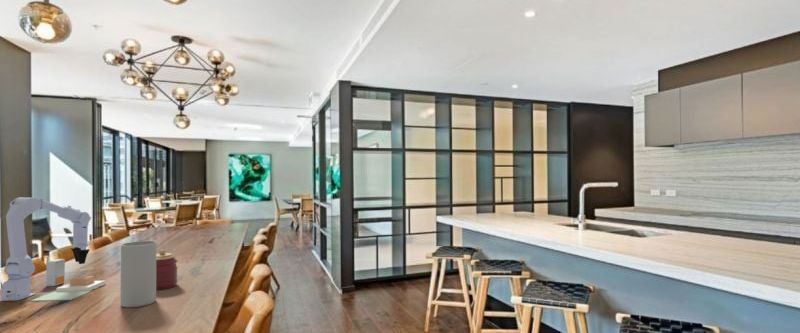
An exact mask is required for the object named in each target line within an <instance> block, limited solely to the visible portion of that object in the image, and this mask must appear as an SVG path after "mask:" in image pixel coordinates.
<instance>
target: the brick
mask: <svg viewBox="0 0 800 333" xmlns="http://www.w3.org/2000/svg"><path fill="white" fill-rule="evenodd" d="M94 281H95V275H79V276H76V277H73V278H70V279H69V283H70V286H82V285H88V284H91V283H93V282H94Z"/></svg>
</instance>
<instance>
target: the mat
mask: <svg viewBox="0 0 800 333" xmlns="http://www.w3.org/2000/svg"><path fill="white" fill-rule="evenodd" d="M91 292H92V290H91V291H62V292H56V291H53V292H52V291H51V292H49V293H47V294H44V295H42V296H41V295H40V297H37V298H34V299H31V300H30V302H48V301H49V302H53V301H56V302H57V301H72V300H74V299H77V298H79V297H81V296H84V295H87V294H88V293H91Z"/></svg>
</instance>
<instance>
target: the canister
mask: <svg viewBox="0 0 800 333" xmlns="http://www.w3.org/2000/svg"><path fill="white" fill-rule="evenodd" d="M176 257H177V256H176V255H175V254H173V253H171V252H166V250H165V249H161V250H159V252H158V253H156V291H160V290H168V289H171V288H174V287H177V285H178V268H179V267H178V266H177V263H178V259H177V258H176Z"/></svg>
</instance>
